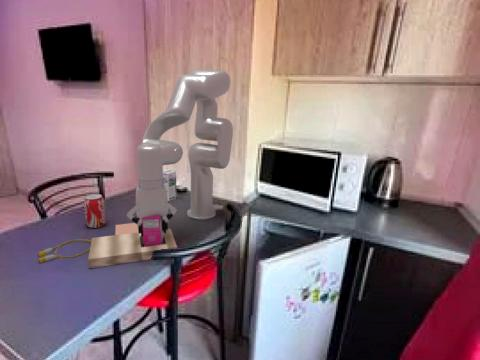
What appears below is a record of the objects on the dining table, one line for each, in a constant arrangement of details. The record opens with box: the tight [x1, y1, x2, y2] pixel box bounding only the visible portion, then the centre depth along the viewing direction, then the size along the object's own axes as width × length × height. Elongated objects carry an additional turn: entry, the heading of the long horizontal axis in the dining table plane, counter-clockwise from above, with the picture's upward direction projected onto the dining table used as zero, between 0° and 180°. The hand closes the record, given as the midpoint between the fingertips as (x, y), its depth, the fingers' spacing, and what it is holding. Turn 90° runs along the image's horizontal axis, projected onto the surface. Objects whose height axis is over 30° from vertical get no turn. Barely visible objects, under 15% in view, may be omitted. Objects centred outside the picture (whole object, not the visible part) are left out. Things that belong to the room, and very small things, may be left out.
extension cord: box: [37, 238, 92, 264], centre depth 96 cm, size 12×16×2 cm
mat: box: [114, 222, 139, 235], centre depth 112 cm, size 14×12×1 cm
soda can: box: [83, 193, 107, 229], centre depth 113 cm, size 7×7×12 cm
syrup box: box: [163, 169, 178, 202], centre depth 145 cm, size 6×6×14 cm
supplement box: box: [142, 215, 164, 247], centre depth 99 cm, size 6×6×12 cm
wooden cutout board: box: [87, 228, 178, 269], centre depth 98 cm, size 26×14×3 cm, turn 111°
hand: (153, 232), depth 99 cm, fingers closed on supplement box, 6 cm apart
